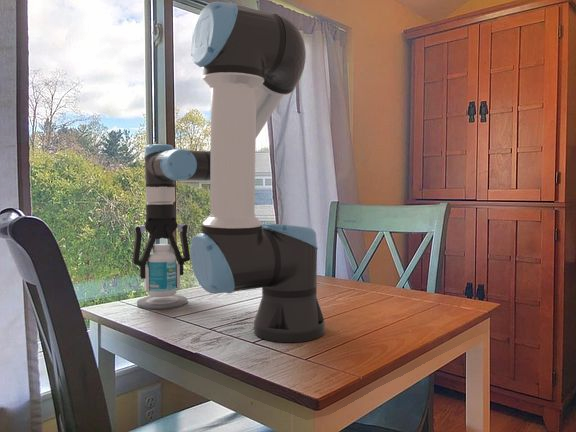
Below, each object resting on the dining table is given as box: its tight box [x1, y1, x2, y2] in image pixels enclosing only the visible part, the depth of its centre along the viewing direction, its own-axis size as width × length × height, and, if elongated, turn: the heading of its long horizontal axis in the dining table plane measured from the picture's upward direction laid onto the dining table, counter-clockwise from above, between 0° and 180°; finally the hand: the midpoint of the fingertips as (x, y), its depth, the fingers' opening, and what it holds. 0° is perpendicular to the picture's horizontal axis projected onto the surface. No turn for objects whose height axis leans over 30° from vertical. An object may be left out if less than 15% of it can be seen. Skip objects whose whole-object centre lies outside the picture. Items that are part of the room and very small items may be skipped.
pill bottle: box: [146, 243, 177, 297], centre depth 128 cm, size 8×7×14 cm
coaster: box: [136, 294, 188, 310], centre depth 128 cm, size 13×13×1 cm
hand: (162, 288), depth 128 cm, fingers closed on pill bottle, 7 cm apart
